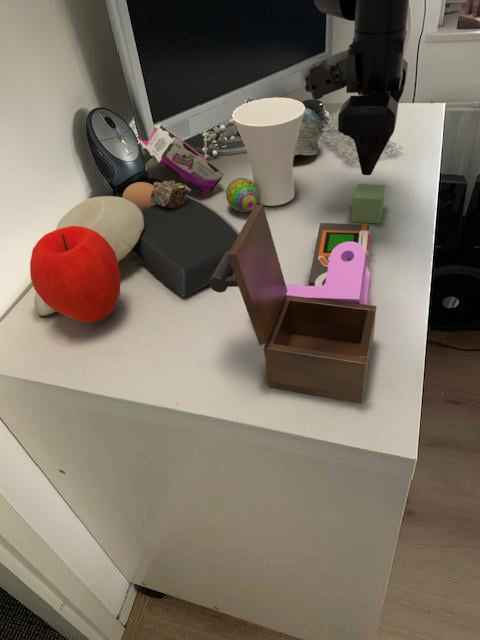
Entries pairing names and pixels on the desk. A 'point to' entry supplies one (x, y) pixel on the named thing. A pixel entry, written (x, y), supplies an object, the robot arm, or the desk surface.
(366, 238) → the electronic device
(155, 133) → the candy bar box
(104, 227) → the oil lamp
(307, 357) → the chest
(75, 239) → the apple
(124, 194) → the egg
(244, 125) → the cup
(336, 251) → the bracket
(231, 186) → the egg
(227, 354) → the desk surface
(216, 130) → the molecular model
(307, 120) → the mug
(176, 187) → the rock
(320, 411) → the desk surface
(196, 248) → the hard drive
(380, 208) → the block
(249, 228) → the lid
